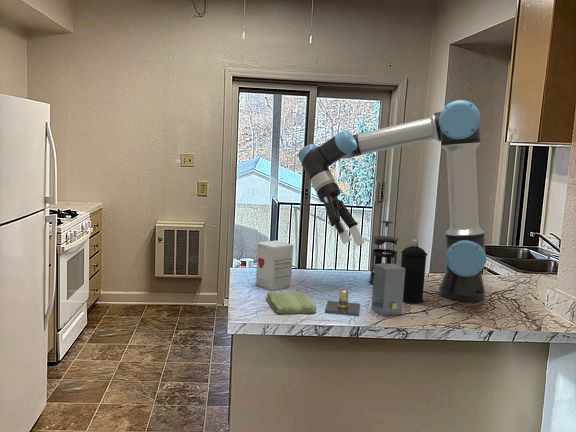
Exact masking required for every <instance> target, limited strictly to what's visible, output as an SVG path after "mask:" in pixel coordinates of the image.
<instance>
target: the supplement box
mask: <svg viewBox="0 0 576 432" xmlns="http://www.w3.org/2000/svg"><path fill="white" fill-rule="evenodd" d="M256 250H257V252H256V253H257V255H256V271H255V272H256V274H255V275H256V276H255V285H256V286H259V287H260V288H261V287H262V288H264V289H267V290H270V291H272V292H274V291H277V290H283V289H287V288H291V287H292V271H293V258H294V244H292V243H288V242H283V241H280V240H269V241H260V242H257V249H256Z"/></svg>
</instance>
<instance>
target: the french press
mask: <svg viewBox="0 0 576 432" xmlns="http://www.w3.org/2000/svg"><path fill="white" fill-rule="evenodd" d="M380 222H381V223H383V224H385V235H375V236H373V238H372V239H373V244H375V245H377V246H382V245H384V248H374V249H372V251H371V266H370V274H369V276H370V277H369V282H368V283H369V284H370V285H372V286H373V279H374V266H375V264H392V258H393V263H394V264H396V265H397V259H398V258H397V257H398V251H397V250H393V249H389V248H388V249H386V247H387V243H390V244H394V245H395V246H398V241H399V238H398V237H395V236H388V235H387V233H388V227H389V224H394V222H393V221H389V220H382V221H380ZM385 258H386V261H385ZM382 260H383V262H382ZM385 262H386V263H385Z"/></svg>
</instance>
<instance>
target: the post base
mask: <svg viewBox="0 0 576 432" xmlns="http://www.w3.org/2000/svg"><path fill="white" fill-rule="evenodd" d="M326 302H327V303H326V305H325V309H324V313H325V314H335V315H343V316H345V315H346V316H353V317H354V316H355V317H359V316H360V309H361V303H355V302H349V290H347V289H340V290H339V299H338V300H337V301H336V300H335V301H334V300H327V301H326Z"/></svg>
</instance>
